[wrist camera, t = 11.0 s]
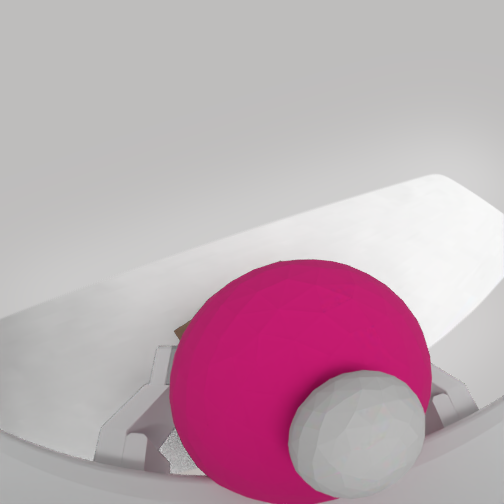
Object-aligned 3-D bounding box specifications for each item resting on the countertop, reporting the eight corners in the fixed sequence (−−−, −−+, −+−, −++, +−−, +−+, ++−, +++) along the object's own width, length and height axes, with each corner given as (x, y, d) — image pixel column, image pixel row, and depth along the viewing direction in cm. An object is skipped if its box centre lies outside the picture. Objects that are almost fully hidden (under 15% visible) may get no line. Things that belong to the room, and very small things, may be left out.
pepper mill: (243, 282, 23) (275, 51, 3) (320, 331, 22) (575, 308, 3) (192, 358, 21) (-12, 471, 2) (270, 407, 20) (380, 619, 1)
